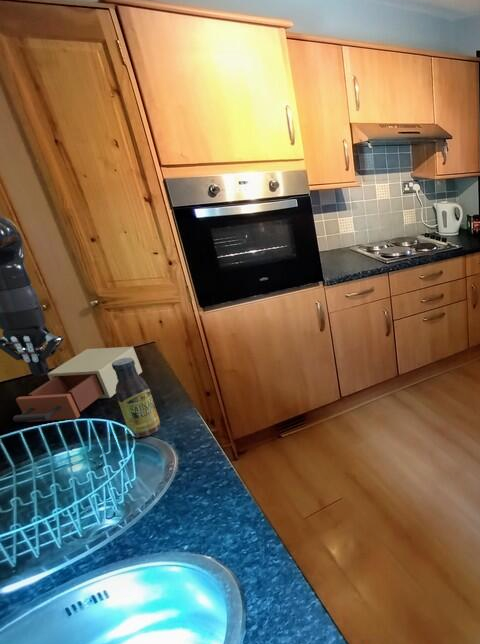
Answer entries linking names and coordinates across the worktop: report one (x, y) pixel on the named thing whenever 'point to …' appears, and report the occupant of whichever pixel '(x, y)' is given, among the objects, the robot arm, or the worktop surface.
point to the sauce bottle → (135, 399)
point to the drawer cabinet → (98, 366)
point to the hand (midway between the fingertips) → (41, 374)
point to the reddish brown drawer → (60, 398)
